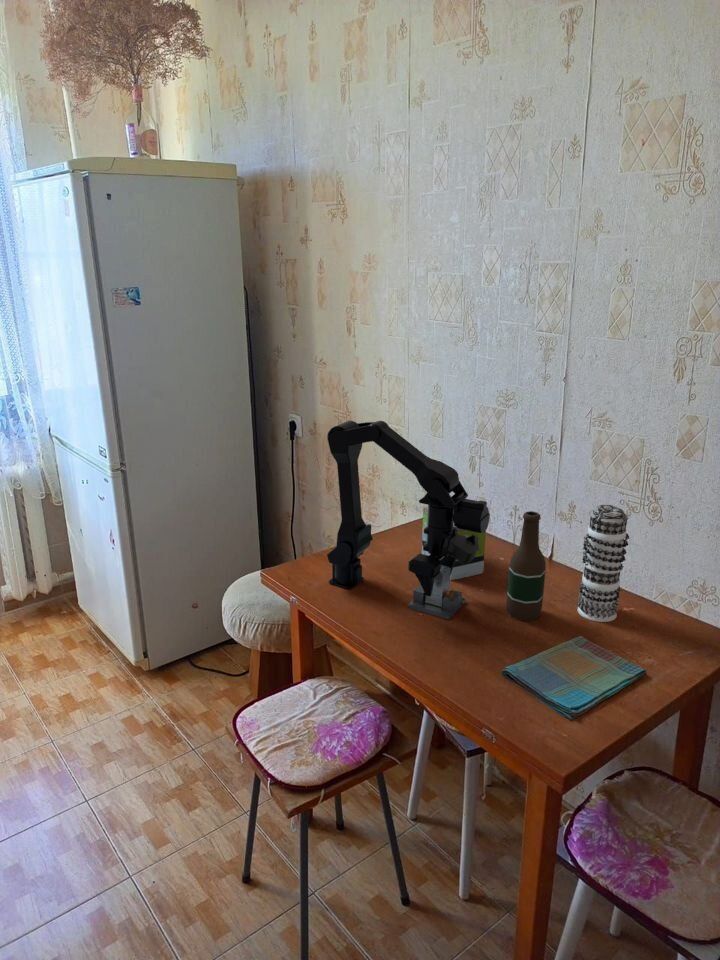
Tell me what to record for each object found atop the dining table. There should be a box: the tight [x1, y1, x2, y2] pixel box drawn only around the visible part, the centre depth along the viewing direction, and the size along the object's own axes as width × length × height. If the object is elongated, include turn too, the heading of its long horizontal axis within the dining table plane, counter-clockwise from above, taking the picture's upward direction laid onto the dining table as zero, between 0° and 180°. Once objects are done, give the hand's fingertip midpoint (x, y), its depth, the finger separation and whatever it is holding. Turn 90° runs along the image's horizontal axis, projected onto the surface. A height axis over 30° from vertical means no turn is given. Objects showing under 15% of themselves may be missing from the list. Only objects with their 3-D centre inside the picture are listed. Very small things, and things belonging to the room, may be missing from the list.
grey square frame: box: [407, 584, 467, 620], centre depth 164 cm, size 10×9×4 cm
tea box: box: [421, 505, 487, 581], centre depth 182 cm, size 15×10×15 cm
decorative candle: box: [577, 504, 630, 623], centre depth 157 cm, size 9×9×25 cm
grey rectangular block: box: [425, 565, 451, 609], centre depth 163 cm, size 4×4×9 cm
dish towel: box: [501, 635, 648, 721], centre depth 138 cm, size 17×23×2 cm
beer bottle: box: [505, 511, 547, 622], centre depth 157 cm, size 8×8×24 cm
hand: (437, 587), depth 163 cm, fingers open, 9 cm apart
